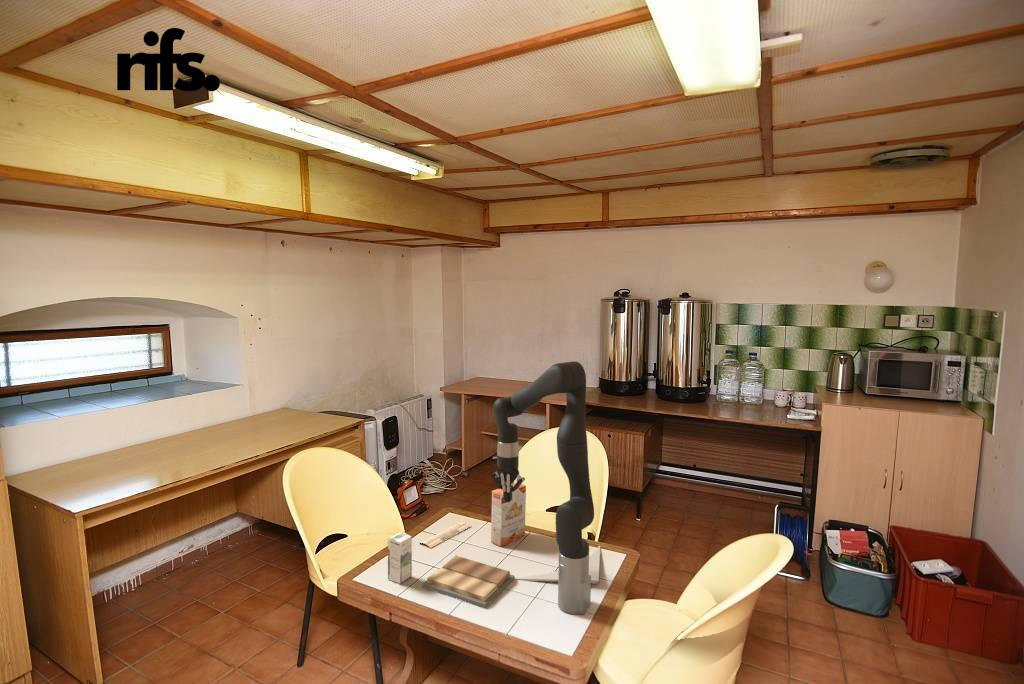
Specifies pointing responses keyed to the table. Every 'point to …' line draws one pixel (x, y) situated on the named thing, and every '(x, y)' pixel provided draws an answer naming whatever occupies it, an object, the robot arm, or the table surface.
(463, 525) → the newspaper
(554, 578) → the corner molding
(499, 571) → the walnut plank
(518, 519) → the cracker box
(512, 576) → the board
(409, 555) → the syrup box
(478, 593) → the oak plank
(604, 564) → the table surface
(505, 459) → the robot arm
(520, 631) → the table surface
